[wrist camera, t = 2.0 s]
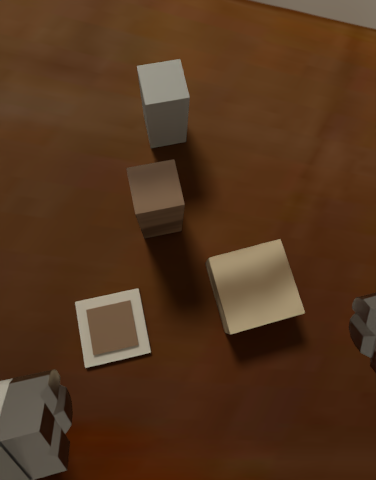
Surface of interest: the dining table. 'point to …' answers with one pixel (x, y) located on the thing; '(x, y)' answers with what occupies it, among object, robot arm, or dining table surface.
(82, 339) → the swatch
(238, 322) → the maple block
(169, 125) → the grey pillar
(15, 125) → the dining table surface
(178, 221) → the walnut pillar
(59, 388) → the robot arm
